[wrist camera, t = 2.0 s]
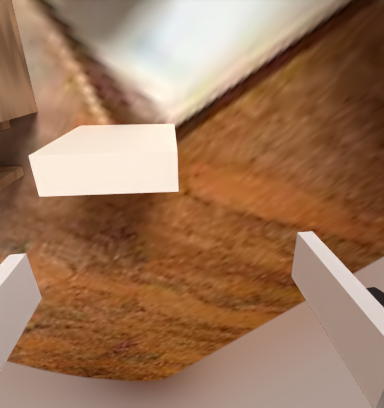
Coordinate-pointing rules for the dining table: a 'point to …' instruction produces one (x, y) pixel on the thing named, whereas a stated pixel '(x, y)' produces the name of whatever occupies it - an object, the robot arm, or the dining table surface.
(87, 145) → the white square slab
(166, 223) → the dining table surface
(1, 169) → the cabinet
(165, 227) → the dining table surface
